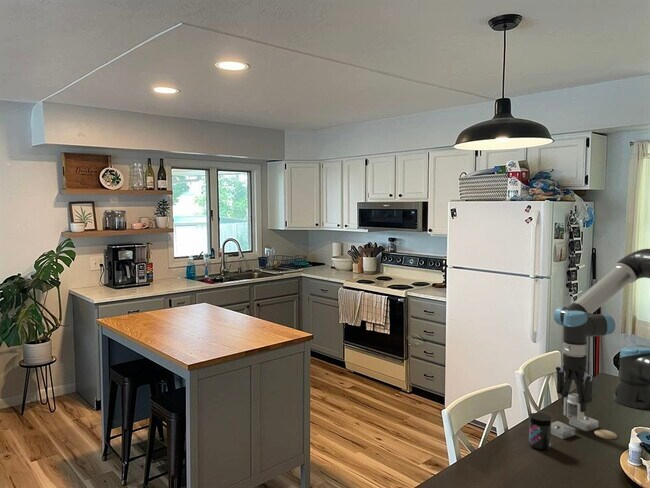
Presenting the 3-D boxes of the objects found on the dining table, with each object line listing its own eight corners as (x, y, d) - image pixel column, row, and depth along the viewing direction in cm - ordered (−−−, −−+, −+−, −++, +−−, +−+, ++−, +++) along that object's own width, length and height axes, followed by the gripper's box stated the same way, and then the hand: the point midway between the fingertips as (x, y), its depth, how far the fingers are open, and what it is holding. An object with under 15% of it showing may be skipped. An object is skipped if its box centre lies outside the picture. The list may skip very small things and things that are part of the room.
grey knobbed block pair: (580, 420, 188) (580, 413, 187) (598, 427, 181) (598, 420, 181) (545, 431, 178) (545, 423, 178) (562, 439, 172) (563, 431, 172)
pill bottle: (583, 420, 177) (583, 398, 176) (568, 420, 178) (569, 397, 177) (579, 415, 182) (579, 393, 181) (565, 414, 183) (565, 392, 182)
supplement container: (528, 440, 171) (529, 411, 170) (550, 444, 168) (551, 414, 168) (528, 449, 164) (529, 418, 164) (550, 453, 162) (552, 422, 161)
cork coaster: (602, 429, 180) (602, 428, 180) (621, 436, 174) (621, 435, 174) (590, 433, 177) (590, 432, 177) (609, 441, 171) (609, 439, 171)
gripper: (546, 349, 184) (545, 410, 186) (591, 362, 169) (590, 428, 170) (559, 346, 188) (558, 406, 189) (605, 358, 172) (603, 423, 174)
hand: (573, 416), depth 180 cm, fingers closed on pill bottle, 5 cm apart
